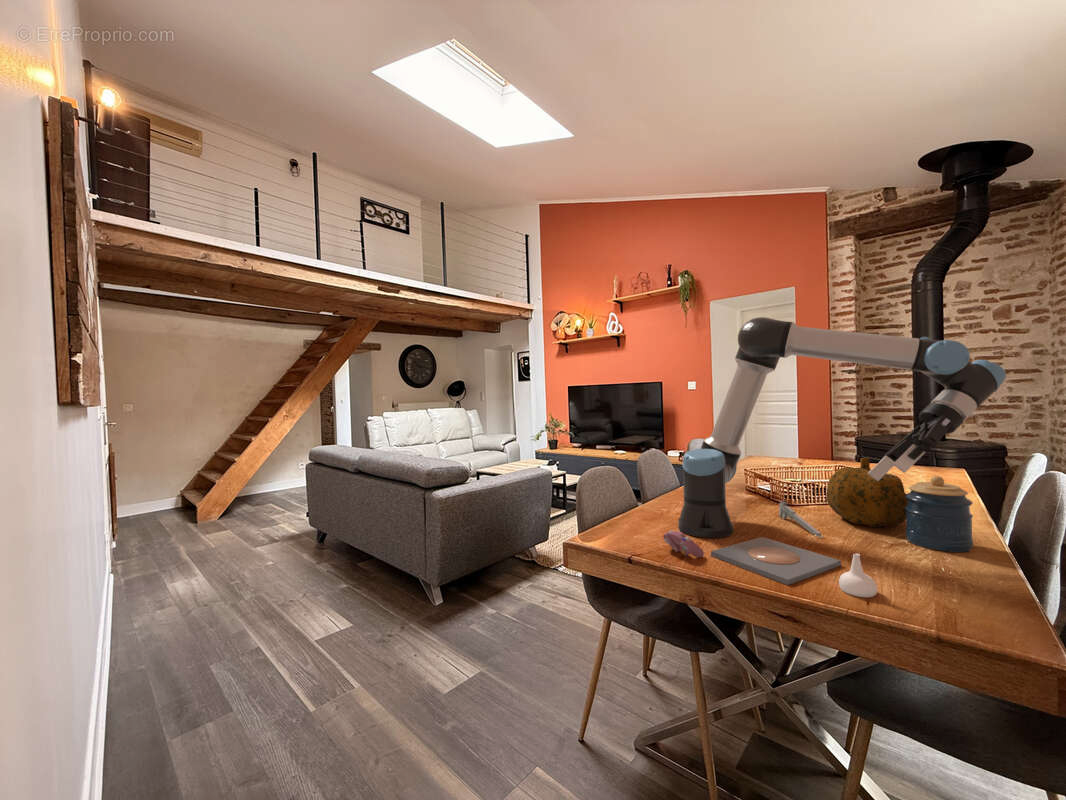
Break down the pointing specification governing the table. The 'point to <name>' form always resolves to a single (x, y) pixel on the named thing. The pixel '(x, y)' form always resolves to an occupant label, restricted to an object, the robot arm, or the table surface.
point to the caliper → (796, 518)
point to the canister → (939, 516)
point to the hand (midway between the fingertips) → (885, 473)
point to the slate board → (776, 560)
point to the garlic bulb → (857, 580)
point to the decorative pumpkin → (867, 496)
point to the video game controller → (682, 543)
